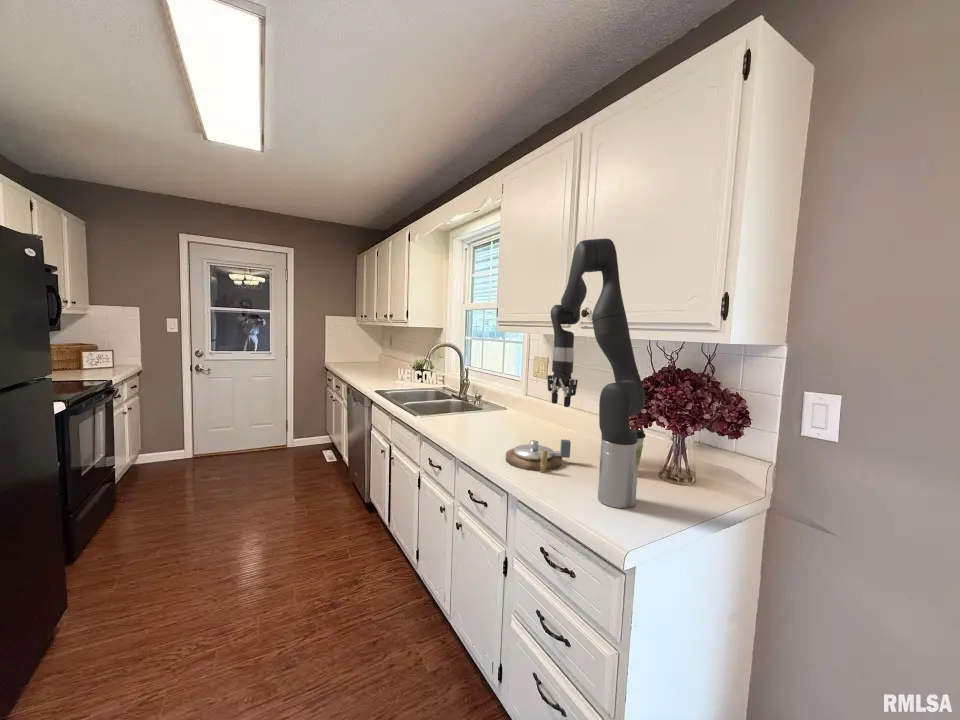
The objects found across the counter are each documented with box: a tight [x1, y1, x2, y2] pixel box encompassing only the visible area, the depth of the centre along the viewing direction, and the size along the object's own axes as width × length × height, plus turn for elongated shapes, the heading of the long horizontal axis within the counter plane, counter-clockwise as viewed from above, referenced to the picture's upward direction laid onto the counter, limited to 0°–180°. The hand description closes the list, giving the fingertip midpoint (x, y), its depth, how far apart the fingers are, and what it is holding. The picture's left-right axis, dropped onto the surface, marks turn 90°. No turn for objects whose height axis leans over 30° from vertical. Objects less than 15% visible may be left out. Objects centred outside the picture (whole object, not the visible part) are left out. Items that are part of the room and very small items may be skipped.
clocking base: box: [505, 448, 563, 474], centre depth 139 cm, size 20×22×7 cm
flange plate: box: [513, 439, 572, 461], centre depth 140 cm, size 20×14×6 cm
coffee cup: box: [634, 429, 646, 472], centre depth 132 cm, size 10×10×15 cm
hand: (560, 404), depth 145 cm, fingers open, 6 cm apart
